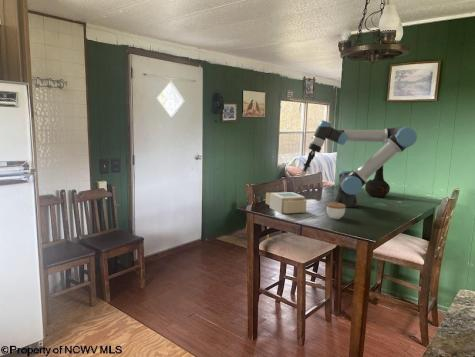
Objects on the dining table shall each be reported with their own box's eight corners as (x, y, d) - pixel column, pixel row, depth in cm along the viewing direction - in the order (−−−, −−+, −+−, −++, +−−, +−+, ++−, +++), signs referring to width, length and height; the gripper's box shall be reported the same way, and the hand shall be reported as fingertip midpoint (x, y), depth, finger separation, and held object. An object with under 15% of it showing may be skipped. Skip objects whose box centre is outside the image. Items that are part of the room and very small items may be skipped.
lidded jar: (345, 220, 204) (346, 204, 203) (325, 219, 207) (327, 203, 205) (343, 216, 215) (345, 200, 213) (325, 214, 217) (326, 199, 215)
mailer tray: (265, 203, 235) (266, 192, 234) (283, 202, 240) (284, 191, 239) (286, 213, 211) (286, 201, 210) (305, 212, 217) (306, 200, 216)
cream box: (269, 207, 227) (270, 193, 226) (291, 206, 234) (292, 191, 232) (280, 213, 215) (281, 197, 213) (303, 211, 221) (304, 196, 220)
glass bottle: (368, 192, 292) (371, 158, 287) (391, 196, 281) (395, 160, 277) (361, 195, 277) (364, 159, 273) (385, 199, 267) (389, 161, 263)
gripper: (310, 143, 241) (297, 172, 243) (310, 141, 216) (296, 173, 219) (321, 147, 239) (308, 177, 242) (322, 146, 215) (307, 178, 218)
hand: (302, 175), depth 231 cm, fingers open, 13 cm apart
